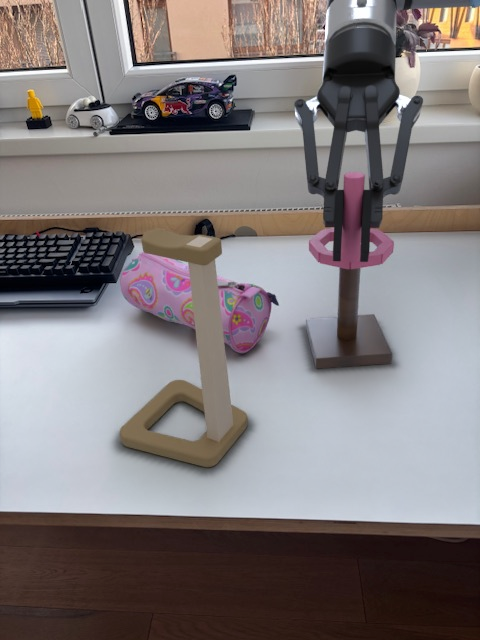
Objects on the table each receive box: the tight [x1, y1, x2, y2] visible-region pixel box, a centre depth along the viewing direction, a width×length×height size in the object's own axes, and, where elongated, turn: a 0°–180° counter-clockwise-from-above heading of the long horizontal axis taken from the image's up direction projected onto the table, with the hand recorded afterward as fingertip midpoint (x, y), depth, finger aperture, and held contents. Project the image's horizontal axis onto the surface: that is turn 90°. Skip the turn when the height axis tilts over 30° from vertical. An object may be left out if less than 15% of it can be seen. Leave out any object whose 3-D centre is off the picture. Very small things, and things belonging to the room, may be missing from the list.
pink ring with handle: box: [308, 171, 395, 269], centre depth 59 cm, size 9×10×10 cm
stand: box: [305, 249, 393, 369], centre depth 65 cm, size 9×9×14 cm
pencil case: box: [119, 251, 280, 354], centre depth 72 cm, size 21×9×9 cm, turn 50°
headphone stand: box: [119, 227, 249, 468], centre depth 51 cm, size 10×11×22 cm
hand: (350, 256), depth 53 cm, fingers closed on pink ring with handle, 2 cm apart
